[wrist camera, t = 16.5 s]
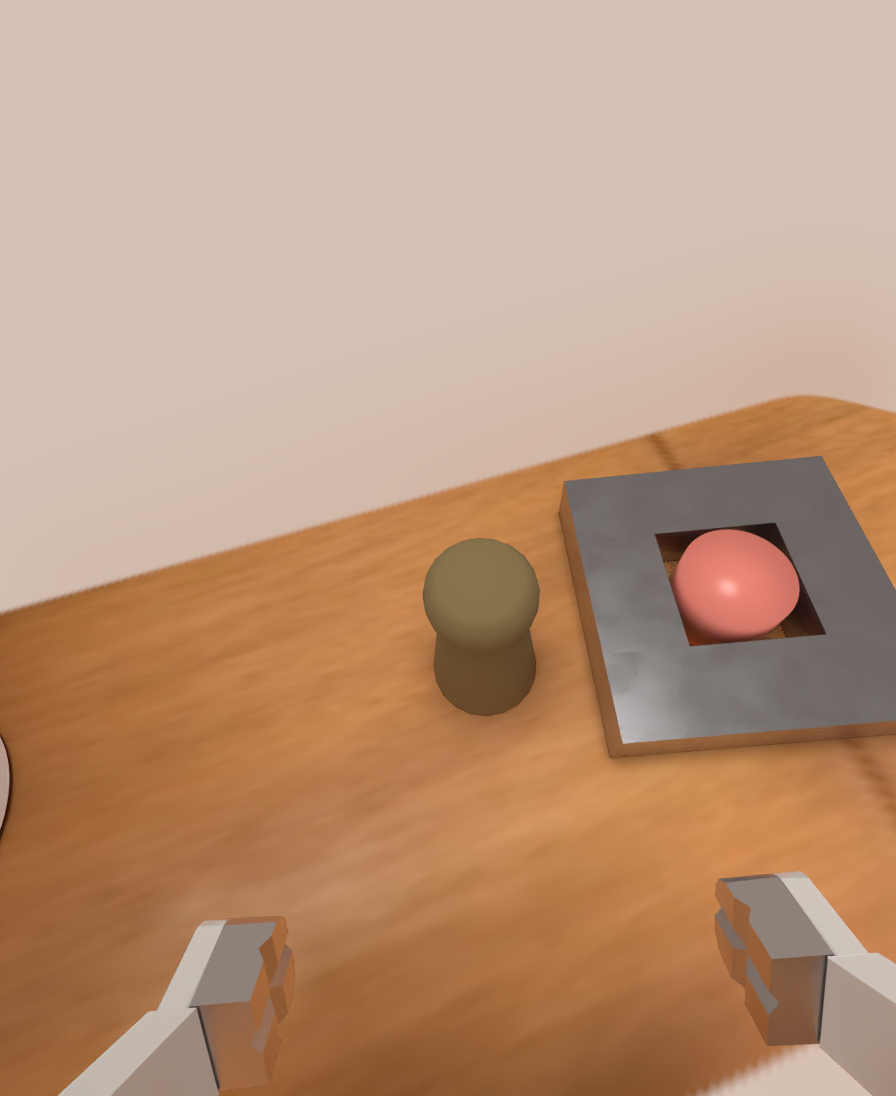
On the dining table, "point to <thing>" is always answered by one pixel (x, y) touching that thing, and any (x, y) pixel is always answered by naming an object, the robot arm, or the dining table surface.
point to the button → (732, 588)
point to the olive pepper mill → (482, 624)
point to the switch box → (743, 667)
